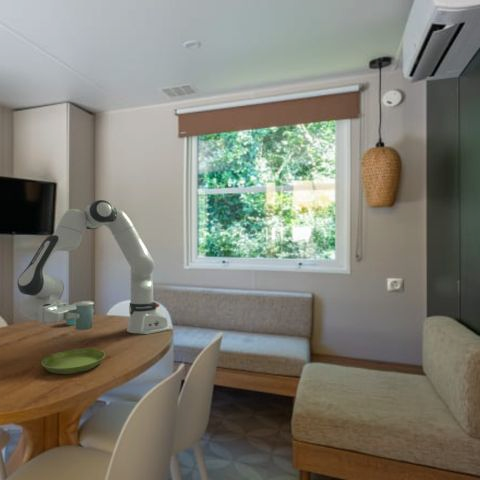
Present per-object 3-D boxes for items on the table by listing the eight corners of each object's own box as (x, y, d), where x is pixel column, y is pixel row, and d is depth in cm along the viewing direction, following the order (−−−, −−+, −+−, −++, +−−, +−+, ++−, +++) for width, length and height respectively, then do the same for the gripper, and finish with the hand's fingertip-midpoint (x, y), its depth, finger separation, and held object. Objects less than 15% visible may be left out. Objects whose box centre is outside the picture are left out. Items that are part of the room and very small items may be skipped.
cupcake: (70, 322, 181) (70, 300, 181) (84, 322, 180) (84, 301, 180) (59, 325, 172) (59, 303, 172) (74, 326, 171) (74, 303, 171)
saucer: (101, 374, 111) (101, 364, 111) (32, 380, 106) (33, 371, 106) (107, 354, 131) (108, 346, 131) (50, 358, 125) (50, 350, 125)
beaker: (91, 325, 132) (92, 300, 132) (93, 329, 127) (94, 303, 127) (74, 326, 129) (75, 301, 129) (75, 330, 123) (76, 304, 123)
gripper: (75, 313, 141) (103, 316, 138) (35, 324, 121) (66, 328, 118) (76, 298, 141) (103, 301, 138) (36, 307, 121) (67, 310, 118)
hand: (86, 313), depth 127 cm, fingers closed on beaker, 6 cm apart
